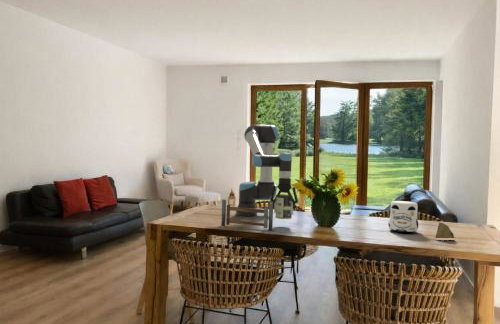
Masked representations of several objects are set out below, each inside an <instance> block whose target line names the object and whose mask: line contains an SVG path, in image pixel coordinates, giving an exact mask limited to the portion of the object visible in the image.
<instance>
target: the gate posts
mask: <svg viewBox="0 0 500 324" xmlns="http://www.w3.org/2000/svg"><path fill="white" fill-rule="evenodd" d="M268 204H269V205H268V228H267V230H268V231H273V225H274V224H273V221H274V207H273V202H270V203H268ZM226 218H227V200H226V199H221V226H222V227H226Z"/></svg>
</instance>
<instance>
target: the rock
mask: <svg viewBox="0 0 500 324" xmlns="http://www.w3.org/2000/svg"><path fill="white" fill-rule="evenodd" d="M436 229H437V230H436V234H435V238H455V236H454V235H455V234H454V233H453V232H452V231H451V228H450V227H449V226H448V225H447V224H445V223H444V222H439V223H438V226H437V228H436Z"/></svg>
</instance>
